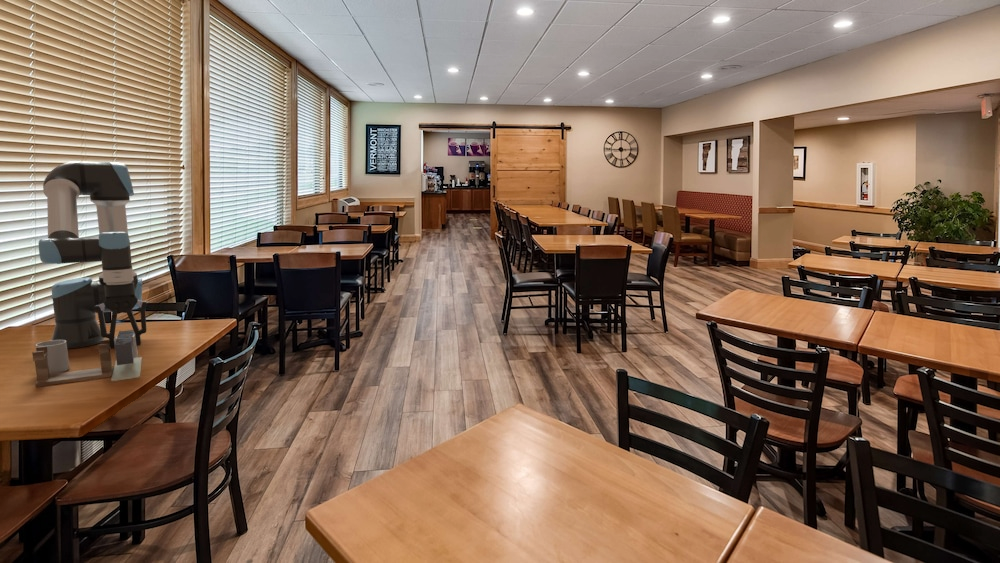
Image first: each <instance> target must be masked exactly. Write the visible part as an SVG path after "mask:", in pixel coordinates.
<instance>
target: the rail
mask: <svg viewBox="0 0 1000 563" xmlns="http://www.w3.org/2000/svg"><path fill="white" fill-rule="evenodd" d="M133 335H135V333H134V330H133V329H130V330H128V329H127V330H120V331H119V332H118V334H117V336H116V337H117V340H116V343H115V349H114V352H115V351H116V354H115V361H116V360H117V365H123V364H131V363H134V358H136V357H135V355H134V346H133Z"/></svg>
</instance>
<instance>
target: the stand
mask: <svg viewBox="0 0 1000 563" xmlns="http://www.w3.org/2000/svg"><path fill="white" fill-rule="evenodd" d="M35 349H36V351H32V353H31V355H32V361H33V362H34V365H35V367H34V368H35V374H36V382H35V383H34V385H35V388H37V387H45V386H52V385H59V384H67V383H73V382H81V381H83V382H84V381H90V380H98V379H103V378H104V379H105V378H112V374H113V370H114V365H113V362H112V354H111V348H110V340H109V338H107V339H104V340H100V343H99V344H97V350H98V354H99V361H100V367H96V368H95V367H94V368H87V369H79V370H71V371H65V372H61V373H55V374H49V366H48V358H47V355H48V349H47V346H42V347H36V346H35Z"/></svg>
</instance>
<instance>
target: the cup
mask: <svg viewBox="0 0 1000 563" xmlns="http://www.w3.org/2000/svg"><path fill="white" fill-rule="evenodd" d="M42 346H47V349H48V355H47V358H48V366H49V374H55V373H63V372H68V370H69V369H70V361H69V360H70V359H69V352H68V349H67V343H66V340H51V339H50V340H45V341H41V342H38V343H36V344H35V348H36V347H42Z"/></svg>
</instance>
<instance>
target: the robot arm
mask: <svg viewBox="0 0 1000 563" xmlns="http://www.w3.org/2000/svg"><path fill="white" fill-rule="evenodd" d="M42 186H43V189H42V190H43V191H42V192H43V194H44V195H45V197H46V198H47V200H46V201H47V203H46V204H47V205H46V206H47V207H46V208H47V238H42V239H39V241H38V243H37V244H38V254H39V258H40V261H41V263H43V264H45V265H47V264H48V265H49V264H52V265H53V264H54V265H55V264H57V265H60V264H73V263H74V264H75V263H92V262H93V263H95V262H97V263H98V262H101V270H102V271H101V273H100V274H99V275H98V280H94V281H93V279H92V277H87V276H85V277H77V278H72V279H67V280H63V281H62V280H61V281H58V282H56V283H54V284H53V285H52V286H51V299H52V304H53V315H54V323H55V325H54V329H53V333H52V336H51V339H50V341H51V340H66V343H67V350H68V349H69V350H70V349H78V348H85V347H90V346H94V345H99V344H100V340H105V338H106V339H109V340H110V350H114V353H115V355H116V351H115V343H116V340H117V337H118V336H115V333H116V326H117V320H118V319H117V318H118V315H120V314H127V317H128V319H129V322H130V325H131V327H132V330H134V334H135V335H133V346H134V355H135V357H134V358H138V357H139V356H138V355H139V354H138V347H140V346H141V345H142V340H141V336H142V334H146V333H147V317H146V307H147V305H148V301H147V300H142V299H143V298H142V294H143V278H141V277H138V273H137V272H135V271H134V269H133V264H132V253H131V252H132V250H131V240H130V237H129V236H130V235H129V231H128V230H129V229H128V219H127V218H128V217H127V211H126V210H127V209H126V205H127V204H128V203H129V202H130V200H131V199H130V197H132V196H134V193H135V192H134V188H133V184H132V179H131V176H130V171H129V168H128V167H127V165H126V164H125V163H122V162H112V161H104V162H103V161H79V160H78V161H77V160H72V161H67V162H64V163H62V164H61V163H60V164H59V165H57V166H56V167H54V168H53V169H52V170H50V171H49V173H48V174H47V175H46V177H45V179H44V181H43V184H42ZM79 196H89V199H90V202H92V203H93V204H94V205H95V207H96V214H97V216H96V217H97V225H98V232H99V233H98V237H97V236H96V237H80V235H79V221H78V218H79V217H78V204H77V199H78V198H79ZM139 308H140V325H141V329H139V326H138V323H137V321H136V318H135V314H134V312H133V310H137V309H139ZM110 312H111V321H110V328H109V332H107V331H108V330H107V325H106V320H105V313H110ZM96 314H97V317H98V322H97V318H96Z"/></svg>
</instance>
